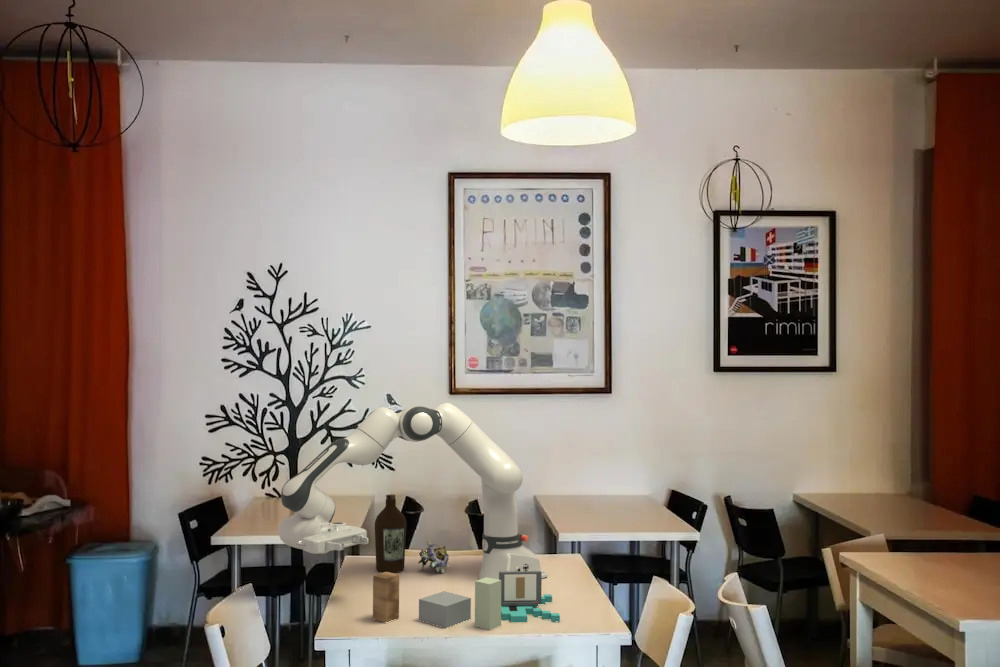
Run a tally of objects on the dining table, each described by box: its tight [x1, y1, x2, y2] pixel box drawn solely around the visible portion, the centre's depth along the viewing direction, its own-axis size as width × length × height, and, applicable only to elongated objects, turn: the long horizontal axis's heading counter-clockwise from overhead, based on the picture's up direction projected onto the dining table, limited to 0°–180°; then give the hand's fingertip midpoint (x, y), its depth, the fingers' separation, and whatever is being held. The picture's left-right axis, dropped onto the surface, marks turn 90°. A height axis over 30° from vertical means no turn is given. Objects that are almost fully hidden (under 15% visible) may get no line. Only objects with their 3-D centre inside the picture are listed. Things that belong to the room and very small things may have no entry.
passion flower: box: [418, 540, 451, 574], centre depth 278 cm, size 11×11×12 cm
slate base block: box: [418, 590, 472, 629], centre depth 227 cm, size 10×10×6 cm
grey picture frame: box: [499, 571, 543, 606], centre depth 236 cm, size 12×5×9 cm, turn 94°
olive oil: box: [374, 493, 407, 574], centre depth 279 cm, size 11×11×25 cm
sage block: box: [474, 577, 502, 631], centre depth 222 cm, size 5×5×12 cm
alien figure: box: [501, 593, 561, 623], centre depth 235 cm, size 20×2×20 cm
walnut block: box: [372, 572, 400, 623], centre depth 227 cm, size 5×5×12 cm
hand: (354, 544), depth 235 cm, fingers open, 8 cm apart
